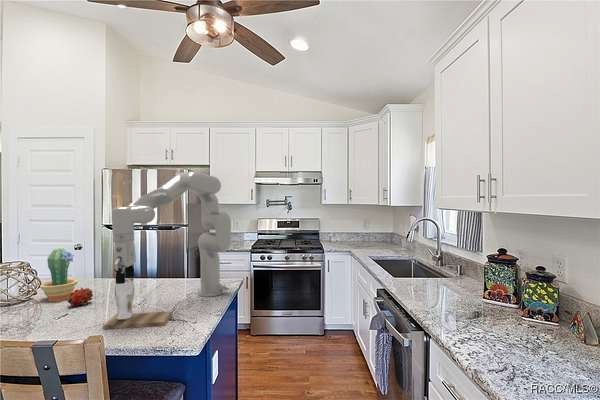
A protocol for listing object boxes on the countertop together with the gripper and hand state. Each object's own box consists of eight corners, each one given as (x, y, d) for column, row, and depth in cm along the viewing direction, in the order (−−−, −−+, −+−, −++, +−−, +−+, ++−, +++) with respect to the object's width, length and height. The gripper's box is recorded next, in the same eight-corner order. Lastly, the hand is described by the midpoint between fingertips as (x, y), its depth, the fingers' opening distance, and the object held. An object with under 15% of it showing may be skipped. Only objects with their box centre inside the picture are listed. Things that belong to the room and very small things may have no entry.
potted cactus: (45, 305, 152) (44, 252, 152) (35, 299, 162) (34, 249, 161) (83, 297, 164) (82, 247, 164) (71, 292, 174) (71, 245, 174)
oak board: (172, 314, 138) (172, 311, 138) (164, 325, 126) (164, 321, 126) (116, 318, 135) (116, 314, 135) (103, 329, 123) (103, 325, 123)
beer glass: (138, 314, 134) (138, 278, 134) (127, 321, 127) (127, 282, 127) (122, 314, 135) (122, 278, 135) (111, 320, 128) (110, 282, 128)
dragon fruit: (95, 304, 159) (70, 316, 147) (83, 293, 160) (58, 304, 149) (100, 291, 156) (76, 302, 145) (88, 280, 158) (63, 290, 146)
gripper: (125, 240, 123) (127, 285, 123) (141, 234, 140) (142, 274, 140) (103, 241, 122) (105, 286, 122) (122, 235, 139) (124, 275, 139)
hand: (125, 280), depth 131 cm, fingers open, 9 cm apart
